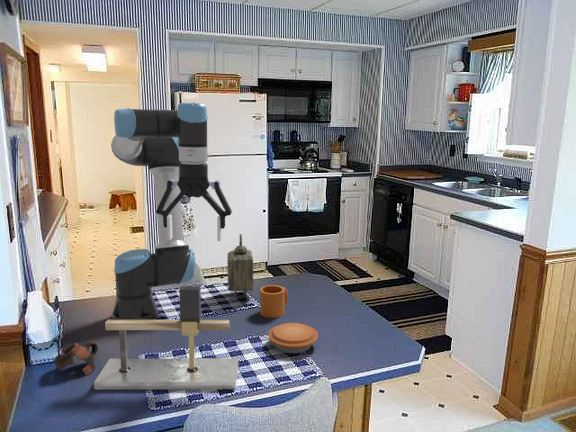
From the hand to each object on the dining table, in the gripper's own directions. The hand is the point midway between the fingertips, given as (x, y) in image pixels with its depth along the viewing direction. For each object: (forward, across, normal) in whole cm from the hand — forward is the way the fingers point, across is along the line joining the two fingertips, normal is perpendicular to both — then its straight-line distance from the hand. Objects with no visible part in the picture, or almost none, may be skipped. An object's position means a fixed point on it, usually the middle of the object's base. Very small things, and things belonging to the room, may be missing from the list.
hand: (194, 239), depth 128 cm
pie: (+36, +28, +7) cm, 46 cm away
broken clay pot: (+36, -31, -7) cm, 48 cm away
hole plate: (+35, -5, -11) cm, 37 cm away
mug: (+36, +23, +32) cm, 54 cm away
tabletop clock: (+37, +9, +47) cm, 60 cm away
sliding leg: (+33, +1, -11) cm, 35 cm away
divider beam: (+33, -5, -11) cm, 36 cm away
